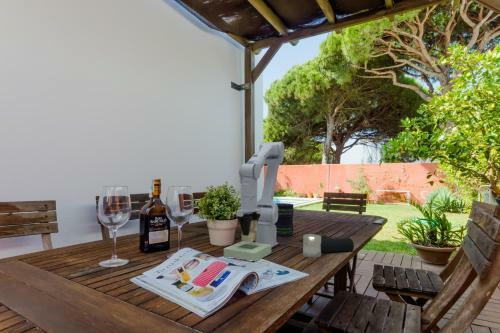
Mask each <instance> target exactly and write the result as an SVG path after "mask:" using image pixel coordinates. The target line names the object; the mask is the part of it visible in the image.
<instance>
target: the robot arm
mask: <svg viewBox="0 0 500 333" xmlns="http://www.w3.org/2000/svg"><path fill="white" fill-rule="evenodd" d="M258 148H259V150H258V153H253V154H252V156H251V157H250V158H249V160H248V161H247V162H245V163H242V164H241V165H240V166H239V169H238V176H239V179H240V180H239V182H240V184H241V192H240V193H241V196H240V199H241V200H240V202H241V203H240V204H241V206H240V209H238V210H236V219H237V221H238V222H239V225H240V229H241V235H242V234H243V235H245V236H248V235H249V230H250V224H251V220H257V239H256V240H255V243H262V244H270V245H271V248H273V247H275V246H277V245H279V242H277V237H276V226H275V225H274V224H275V223H276V222H277V220H278V206H277V204H276V202H275V201H274V196H275V191H276V183H277V178H278V174H279V167H280V165H281V164H282V163H283V161H284V157H285V144H284V143H283V141H274V142H273V141H269V142H263V141H262V142H261V143H260V144H259V147H258ZM265 165H267V167H266V172H265V177H264V182H263V189H262V194H261V199H259V200H258V180H259V179H260V177H261V172H262V169H263V167H264V166H265Z"/></svg>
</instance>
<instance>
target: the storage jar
mask: <svg viewBox="0 0 500 333" xmlns="http://www.w3.org/2000/svg"><path fill="white" fill-rule="evenodd" d="M275 203H276V202H275ZM276 204H277V206H278V220H277V222H276V223H275V224H274V225H275V226H276V238H285V239H286V238H287V239H288V238H293V237H294V213H295V212H294V204H293V203H287V202H286V203H285V202H281V203H278V202H277V203H276Z"/></svg>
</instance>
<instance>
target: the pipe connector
mask: <svg viewBox="0 0 500 333" xmlns="http://www.w3.org/2000/svg"><path fill="white" fill-rule="evenodd" d="M319 235H320V236H321V254H327V253H329V254H330V253H342V252H352V251H353V250H354V249H355V244H354V241H353V239H352V238H350V237H345V238H333V237H331V236H330V235H329V236H328V235H326V234H319Z"/></svg>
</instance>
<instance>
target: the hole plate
mask: <svg viewBox="0 0 500 333" xmlns="http://www.w3.org/2000/svg"><path fill="white" fill-rule="evenodd" d="M270 254H272V247H271V245H270V244H262V243H256V241H255V242H254V241H252V242H250V241H242V240H241V241H239V242H237V243H235V244H232V245H229V246H227V247H223V258H226V257H234V258H240V259H246V260H252V261H255V260H257V259H259V260H261V259H263V258H265V257H266V256H268V255H270Z"/></svg>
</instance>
